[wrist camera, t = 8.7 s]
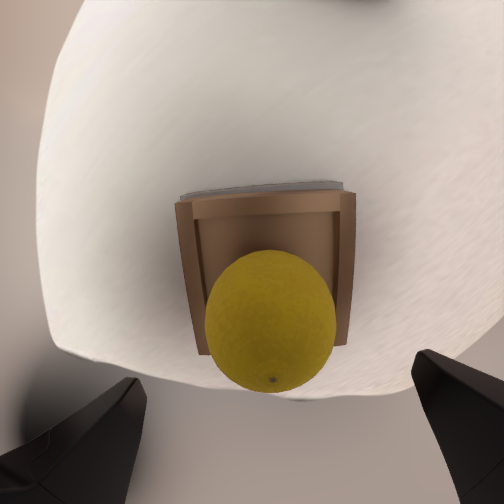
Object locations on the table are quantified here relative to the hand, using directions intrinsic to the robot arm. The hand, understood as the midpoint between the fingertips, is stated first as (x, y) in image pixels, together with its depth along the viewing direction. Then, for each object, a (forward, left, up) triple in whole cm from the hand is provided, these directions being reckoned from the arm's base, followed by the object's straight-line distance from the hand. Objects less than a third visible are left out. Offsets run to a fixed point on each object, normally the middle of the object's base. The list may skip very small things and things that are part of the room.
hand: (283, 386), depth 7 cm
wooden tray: (0, 0, -10) cm, 10 cm away
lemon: (0, 0, -9) cm, 9 cm away
